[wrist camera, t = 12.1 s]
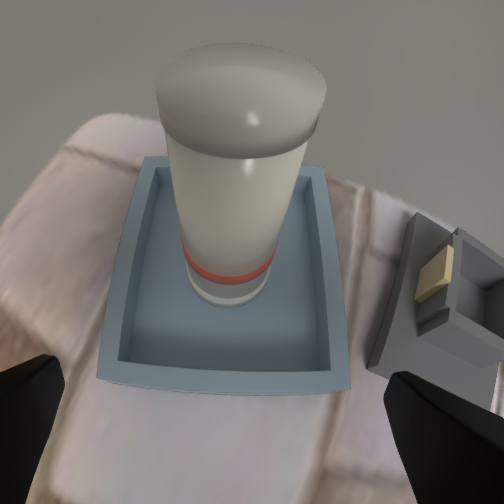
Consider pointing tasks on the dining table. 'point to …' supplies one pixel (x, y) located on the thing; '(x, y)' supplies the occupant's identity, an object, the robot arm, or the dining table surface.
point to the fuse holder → (445, 313)
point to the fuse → (235, 158)
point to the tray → (226, 319)
